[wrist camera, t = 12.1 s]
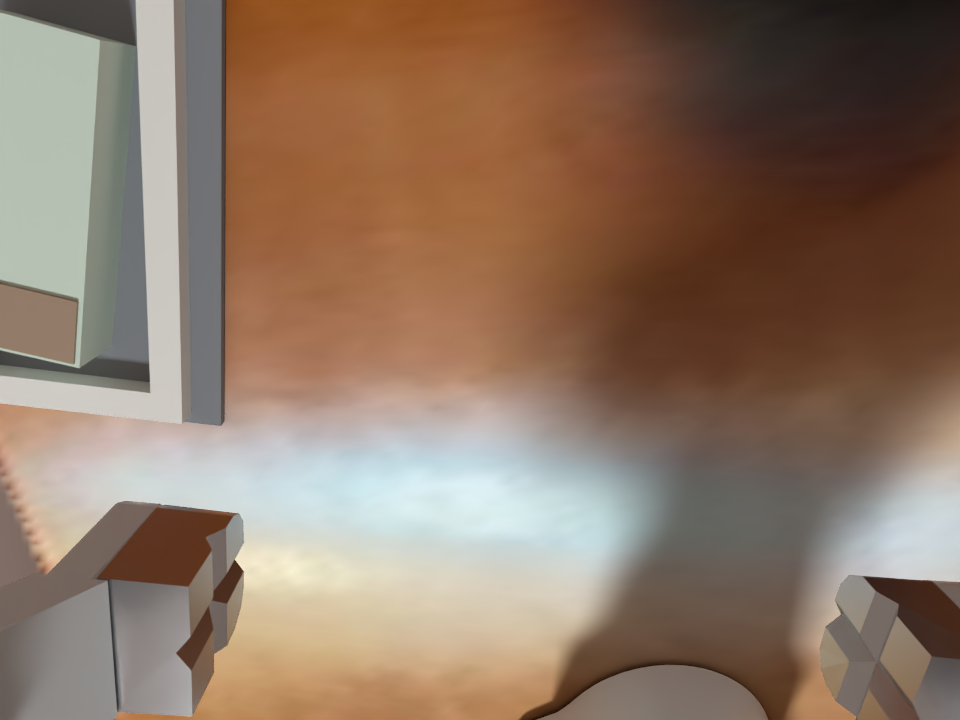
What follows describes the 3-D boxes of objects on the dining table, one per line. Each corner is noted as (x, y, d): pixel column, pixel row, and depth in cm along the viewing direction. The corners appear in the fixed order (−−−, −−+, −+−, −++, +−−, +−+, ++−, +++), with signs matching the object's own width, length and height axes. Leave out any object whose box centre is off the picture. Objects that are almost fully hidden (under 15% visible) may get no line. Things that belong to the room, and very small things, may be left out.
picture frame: (224, 421, 36) (212, 436, 34) (-52, 389, 35) (-77, 403, 33) (225, -56, 28) (210, -66, 26) (-128, -111, 27) (-165, -124, 26)
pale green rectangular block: (135, 46, 29) (98, 39, 26) (111, 346, 34) (77, 369, 31) (14, 12, 28) (-39, 2, 25) (7, 321, 33) (-38, 343, 30)
